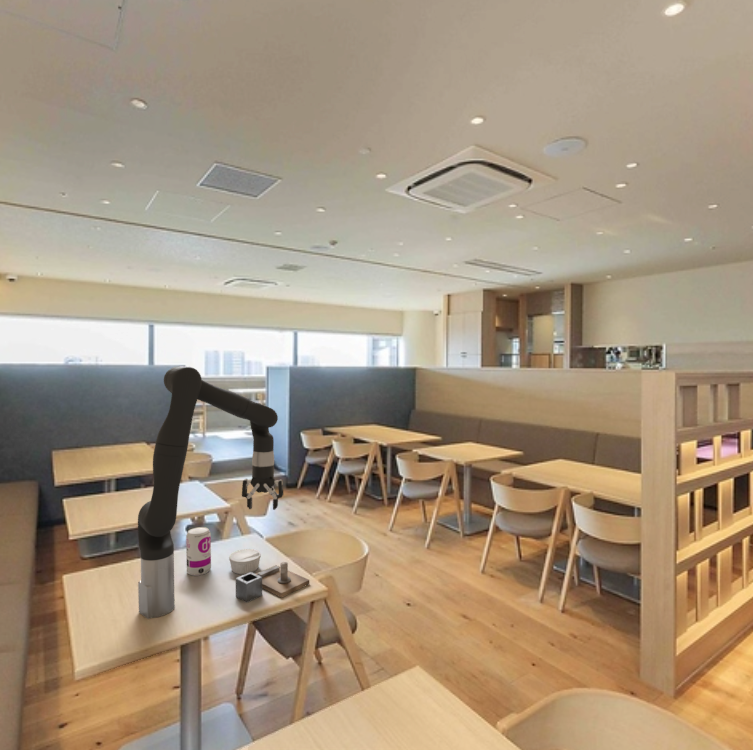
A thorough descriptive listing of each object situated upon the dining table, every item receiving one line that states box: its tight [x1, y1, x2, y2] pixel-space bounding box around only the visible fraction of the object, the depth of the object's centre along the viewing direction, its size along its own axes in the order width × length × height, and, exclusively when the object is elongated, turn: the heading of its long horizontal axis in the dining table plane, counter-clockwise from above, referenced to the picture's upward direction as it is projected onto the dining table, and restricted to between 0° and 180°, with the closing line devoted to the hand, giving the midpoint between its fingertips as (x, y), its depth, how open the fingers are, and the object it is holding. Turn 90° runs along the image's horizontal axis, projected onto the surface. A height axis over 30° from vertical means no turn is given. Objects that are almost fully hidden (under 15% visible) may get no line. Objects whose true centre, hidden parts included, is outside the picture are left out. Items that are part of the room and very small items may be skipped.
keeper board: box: [255, 561, 310, 599], centre depth 164 cm, size 12×18×8 cm, turn 50°
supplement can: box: [185, 526, 212, 577], centre depth 172 cm, size 8×8×15 cm
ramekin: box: [228, 548, 261, 575], centre depth 175 cm, size 11×11×5 cm
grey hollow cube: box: [235, 572, 263, 603], centre depth 155 cm, size 6×6×6 cm
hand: (262, 508), depth 169 cm, fingers open, 8 cm apart
